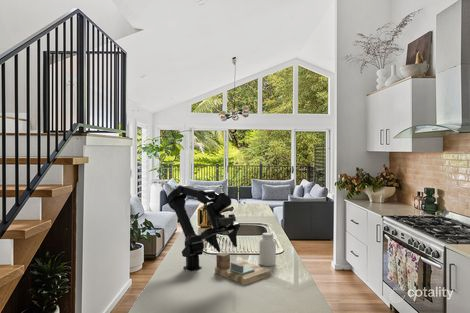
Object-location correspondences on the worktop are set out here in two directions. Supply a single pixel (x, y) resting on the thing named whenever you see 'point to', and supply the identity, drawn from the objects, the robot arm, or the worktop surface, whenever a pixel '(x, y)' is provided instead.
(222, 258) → the block
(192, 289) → the worktop surface
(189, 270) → the robot arm
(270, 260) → the pill bottle
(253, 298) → the worktop surface
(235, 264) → the cover
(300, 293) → the worktop surface
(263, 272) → the wooden board with hole
